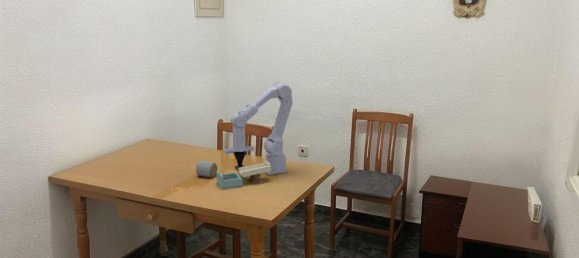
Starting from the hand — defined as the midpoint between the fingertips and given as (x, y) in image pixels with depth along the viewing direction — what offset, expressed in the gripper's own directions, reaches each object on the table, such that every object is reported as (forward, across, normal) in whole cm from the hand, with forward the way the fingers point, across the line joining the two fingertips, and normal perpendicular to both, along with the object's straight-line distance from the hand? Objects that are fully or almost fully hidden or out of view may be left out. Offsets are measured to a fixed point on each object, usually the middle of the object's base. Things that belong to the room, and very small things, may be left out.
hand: (239, 166), depth 237 cm
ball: (+3, -9, -8) cm, 13 cm away
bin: (+5, -8, -8) cm, 13 cm away
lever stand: (+5, +5, -8) cm, 11 cm away
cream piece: (+1, +5, -5) cm, 7 cm away
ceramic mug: (+6, -13, +9) cm, 17 cm away
